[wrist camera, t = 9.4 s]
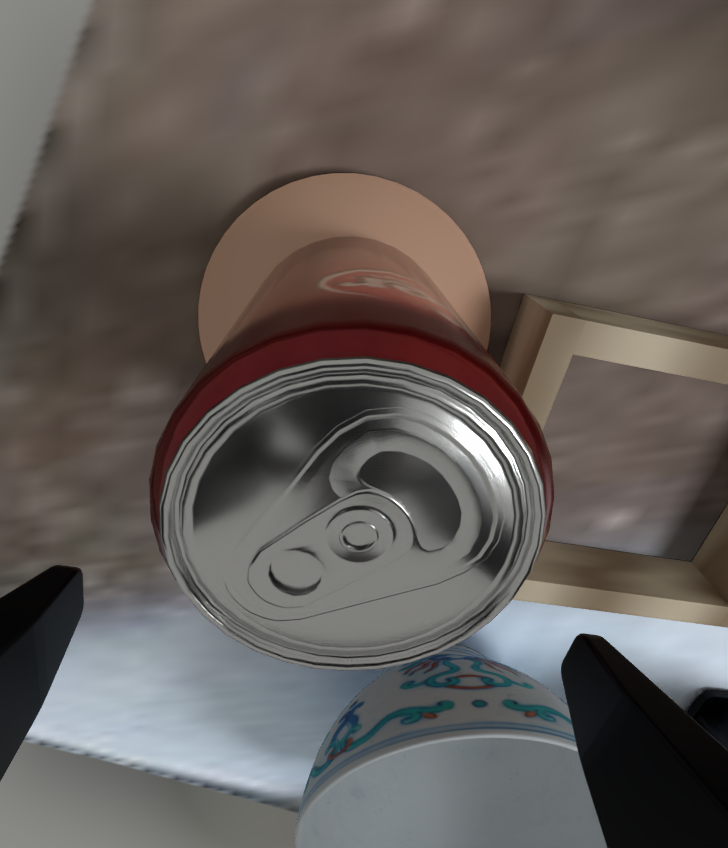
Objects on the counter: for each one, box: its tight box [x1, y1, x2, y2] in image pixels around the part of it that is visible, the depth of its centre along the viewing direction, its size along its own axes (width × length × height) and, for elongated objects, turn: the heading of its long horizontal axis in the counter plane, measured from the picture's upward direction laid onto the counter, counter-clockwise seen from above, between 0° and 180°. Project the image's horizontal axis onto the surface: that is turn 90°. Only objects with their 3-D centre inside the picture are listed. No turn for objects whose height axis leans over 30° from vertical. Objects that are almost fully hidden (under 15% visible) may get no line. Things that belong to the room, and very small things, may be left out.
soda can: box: [149, 236, 554, 671], centre depth 14 cm, size 7×7×12 cm
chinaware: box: [295, 645, 607, 848], centre depth 26 cm, size 15×15×8 cm
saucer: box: [198, 173, 491, 364], centre depth 20 cm, size 11×11×1 cm
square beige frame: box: [499, 294, 728, 627], centre depth 22 cm, size 14×12×3 cm
